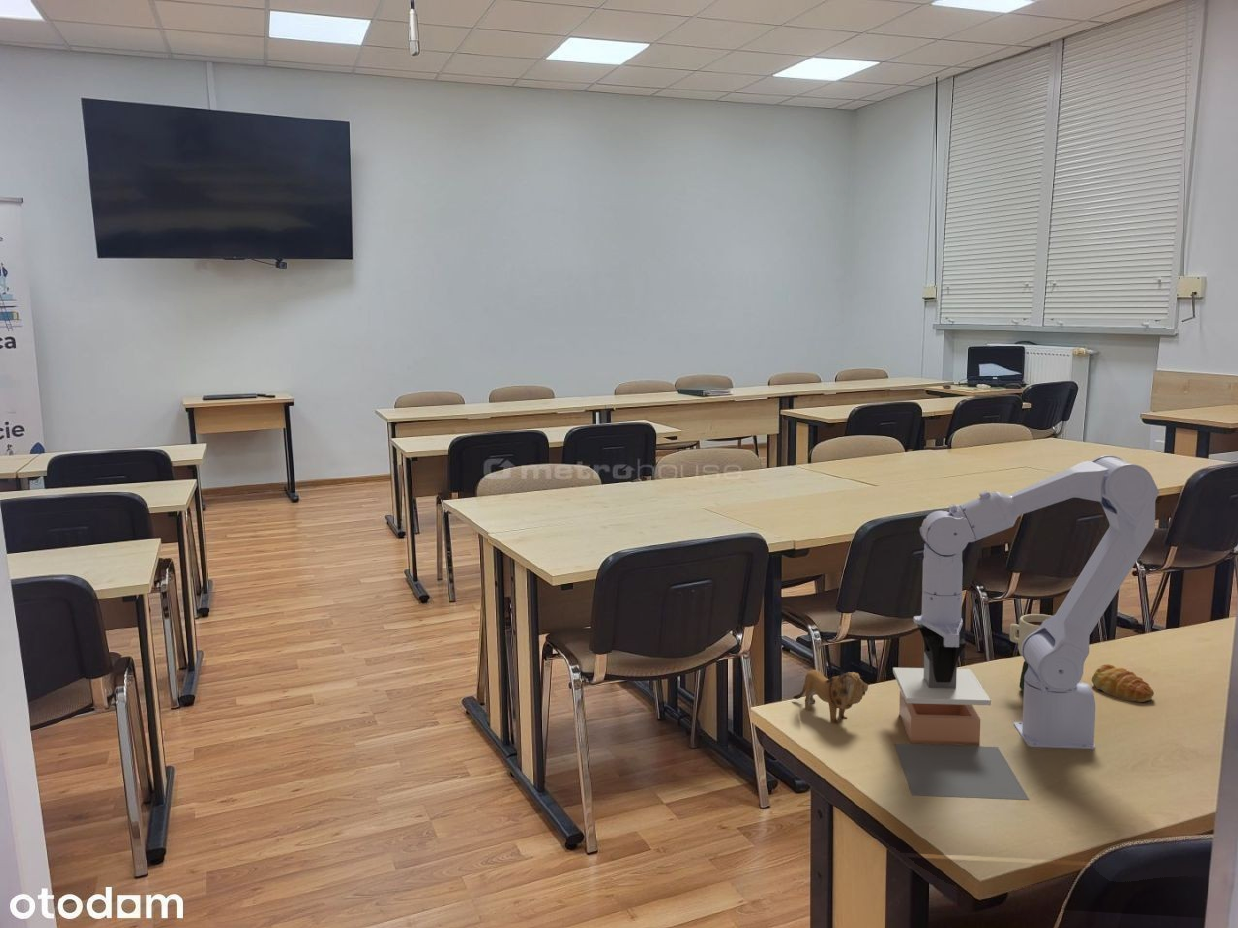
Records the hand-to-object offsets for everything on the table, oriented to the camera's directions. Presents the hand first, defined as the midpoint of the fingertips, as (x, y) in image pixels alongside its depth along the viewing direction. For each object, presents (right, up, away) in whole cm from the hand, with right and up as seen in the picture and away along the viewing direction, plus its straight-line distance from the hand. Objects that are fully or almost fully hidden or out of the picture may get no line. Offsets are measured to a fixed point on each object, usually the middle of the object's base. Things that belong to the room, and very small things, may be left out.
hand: (939, 675), depth 137 cm
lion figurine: (-15, -9, +9) cm, 20 cm away
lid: (0, -2, 0) cm, 2 cm away
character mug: (+22, -7, +15) cm, 28 cm away
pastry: (+36, -7, +15) cm, 40 cm away
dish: (0, -9, +2) cm, 9 cm away
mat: (-1, -11, -11) cm, 16 cm away
